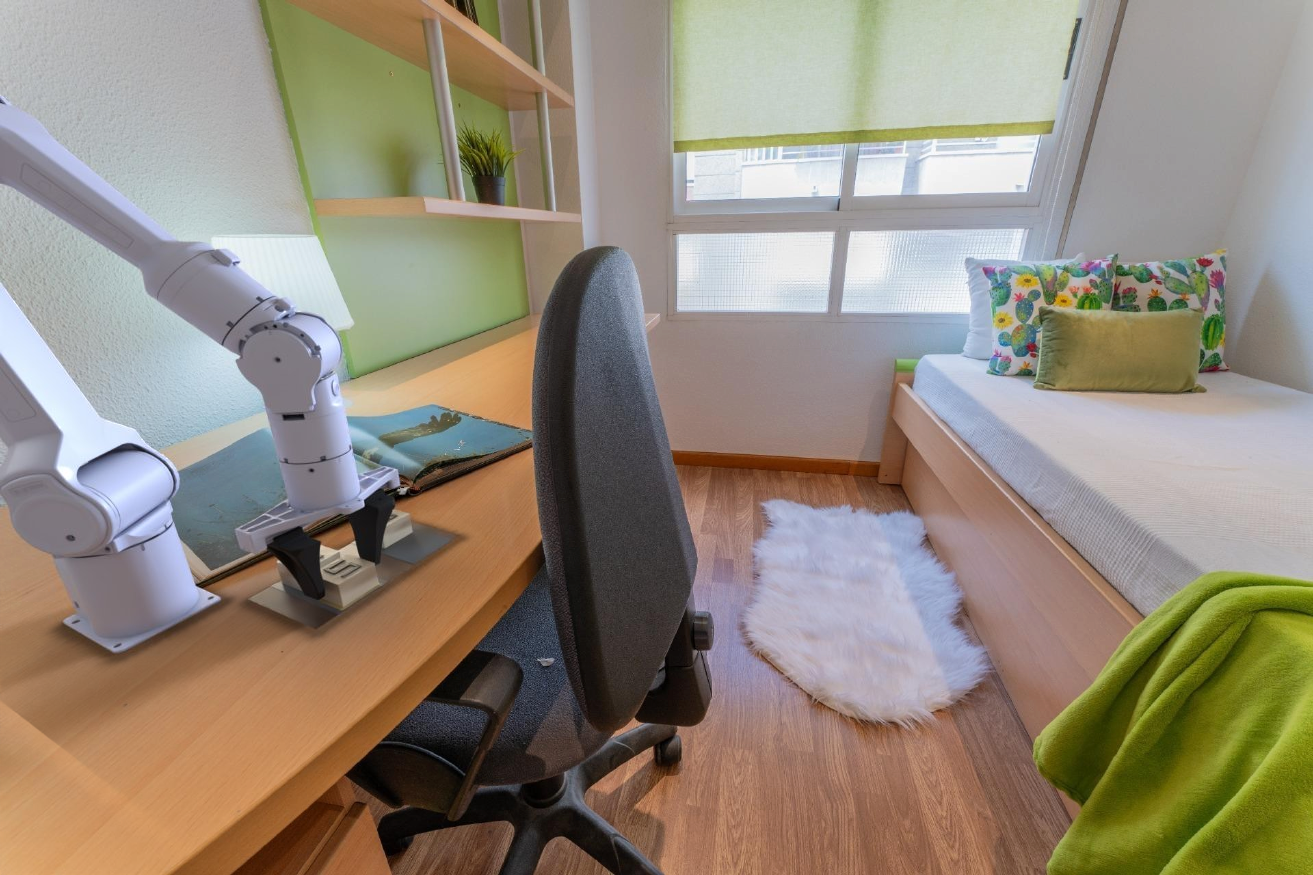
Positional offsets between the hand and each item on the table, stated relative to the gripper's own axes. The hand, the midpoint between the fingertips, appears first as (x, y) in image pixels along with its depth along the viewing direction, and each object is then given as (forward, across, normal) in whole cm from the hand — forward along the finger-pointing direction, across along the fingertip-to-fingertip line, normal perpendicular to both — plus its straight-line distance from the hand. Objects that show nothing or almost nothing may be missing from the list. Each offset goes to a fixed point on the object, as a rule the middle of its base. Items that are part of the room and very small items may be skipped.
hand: (344, 577), depth 52 cm
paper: (+2, +25, +14) cm, 28 cm away
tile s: (+2, 0, 0) cm, 2 cm away
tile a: (+2, +9, +5) cm, 10 cm away
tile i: (+2, 0, +5) cm, 5 cm away
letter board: (+2, +4, +2) cm, 5 cm away
